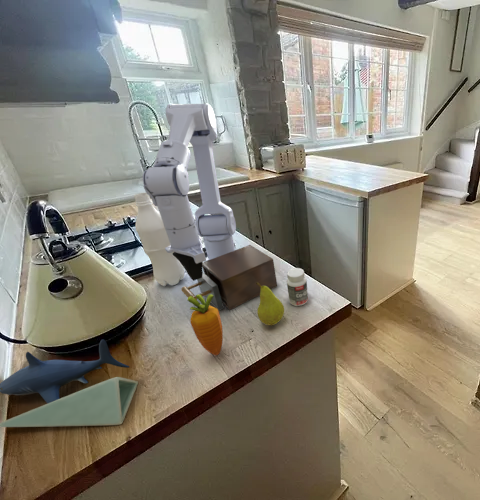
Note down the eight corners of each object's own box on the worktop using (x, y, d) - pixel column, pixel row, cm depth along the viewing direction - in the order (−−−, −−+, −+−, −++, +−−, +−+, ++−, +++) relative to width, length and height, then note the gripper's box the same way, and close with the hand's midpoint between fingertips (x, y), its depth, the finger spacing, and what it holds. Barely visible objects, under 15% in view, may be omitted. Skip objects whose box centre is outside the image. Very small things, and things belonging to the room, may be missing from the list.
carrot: (234, 346, 61) (218, 287, 54) (223, 365, 57) (203, 304, 50) (211, 344, 62) (192, 285, 54) (198, 364, 57) (176, 302, 50)
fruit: (289, 315, 69) (283, 272, 64) (279, 332, 64) (271, 288, 59) (266, 312, 70) (258, 269, 65) (255, 329, 65) (245, 285, 60)
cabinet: (229, 310, 71) (221, 280, 67) (209, 290, 78) (201, 262, 74) (277, 286, 80) (273, 258, 76) (255, 270, 87) (250, 244, 83)
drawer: (199, 320, 67) (191, 296, 64) (182, 300, 73) (174, 277, 70) (265, 287, 78) (261, 265, 74) (245, 273, 84) (240, 252, 81)
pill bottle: (298, 309, 71) (295, 280, 67) (285, 301, 74) (281, 273, 70) (312, 299, 75) (309, 271, 71) (299, 292, 77) (296, 265, 73)
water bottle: (174, 289, 79) (141, 200, 67) (151, 286, 80) (115, 198, 68) (192, 275, 85) (165, 190, 73) (170, 272, 86) (140, 189, 74)
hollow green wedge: (-4, 376, 46) (129, 357, 51) (14, 402, 49) (138, 382, 54) (-49, 425, 39) (110, 398, 44) (-24, 453, 42) (122, 425, 47)
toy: (44, 378, 58) (0, 345, 53) (147, 348, 57) (113, 311, 52) (-1, 428, 50) (-58, 394, 45) (119, 393, 49) (75, 355, 44)
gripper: (148, 220, 64) (167, 273, 71) (171, 241, 55) (191, 299, 62) (182, 212, 69) (197, 262, 75) (209, 229, 60) (223, 284, 66)
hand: (196, 278), depth 69 cm, fingers closed
